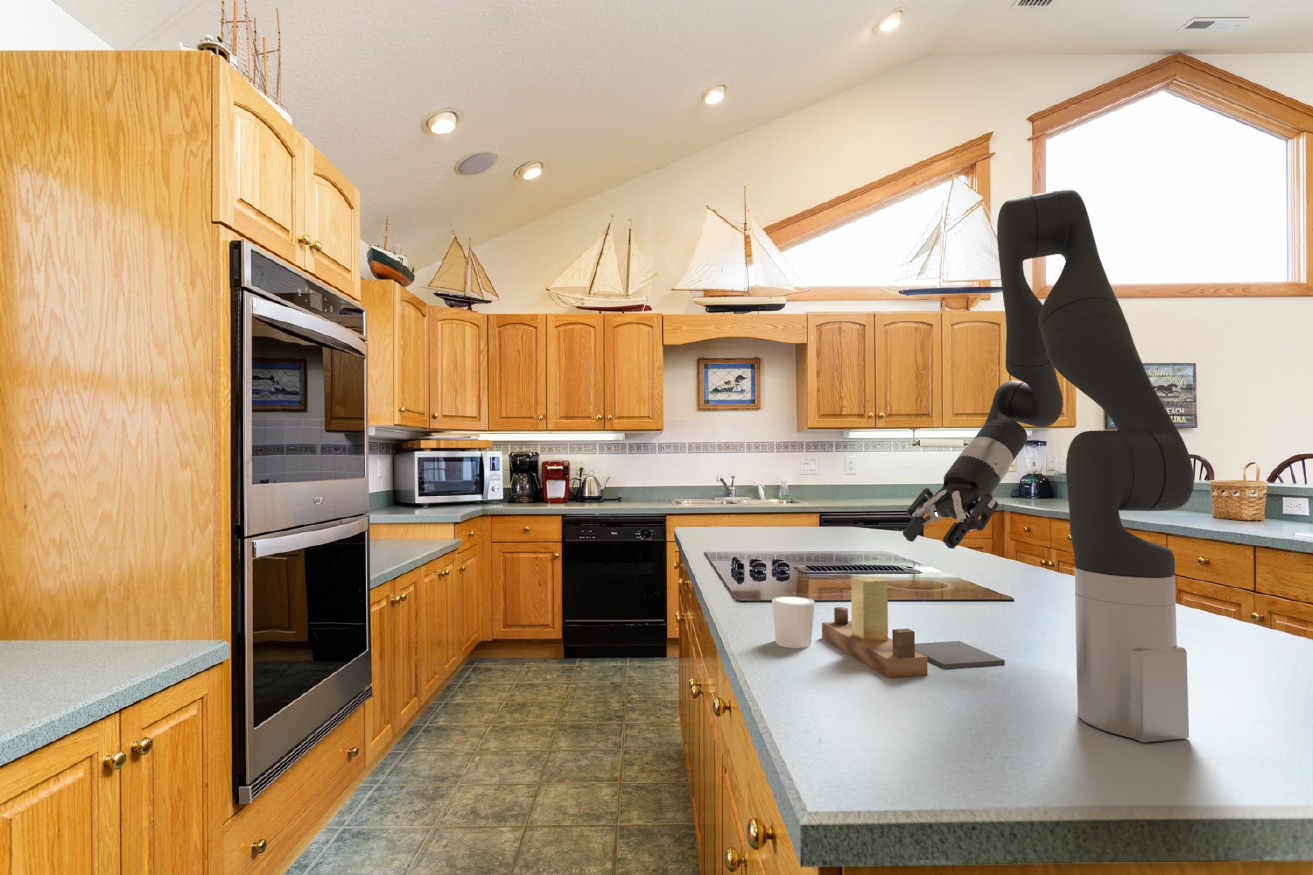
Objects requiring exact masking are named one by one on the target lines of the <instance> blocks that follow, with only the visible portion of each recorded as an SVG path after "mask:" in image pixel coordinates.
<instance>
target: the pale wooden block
mask: <svg viewBox="0 0 1313 875" xmlns="http://www.w3.org/2000/svg"><path fill="white" fill-rule="evenodd" d="M850 578H851V580H850V581H851V582H850V584H851V587H850V588H851V592H850V593H851V597H850V598H851V621H852V636H854V637H855V638H857V639H859V640H861V641H863V642H873V641H888V638H889V627H888V626H889V625H888V624H889V619H888V618H889V616H888V615H889V614H888V610H889V608H888V606H889V605H888V601H889V600H888V580H886V579H883V578H881V577H877V576H875V575H874V576H853V577H852V576H851V577H850Z"/></svg>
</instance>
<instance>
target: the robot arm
mask: <svg viewBox="0 0 1313 875" xmlns="http://www.w3.org/2000/svg"><path fill="white" fill-rule="evenodd" d="M996 228H997V229H996V232H997V233H996V238H997V239H996V240H997V241H996V242H997V251H998V261H999V262H998V263H999V271H1000V272H999V273H1000V281H1001V289H1002V290H1001V291H1002V297H1003V305H1004V306H1003V307H1004V312H1005V314H1004V315H1005V327H1006V328H1005V330H1006V332H1005V334H1006V335H1005V370H1006V372H1007V373H1008V375H1009V376H1011V377H1012V378H1015V379H1017V380H1008V381H1006V382H1004V383H1002V384H1001V385H1000V386H998V387H997V389H996V391H995V394H994V395H993V399H992V404H991V407H990V408H989V409H990V410H989V413H988V415H987V418H986V420H985V422H984V424H983V426H982V427H981V428H980V430H979V431H978V432H977V434H976V435H975V437H974V438H973V439H972V440H971V442H970V443H969V444H967V445H966V446H965V448H964V449H963V450H962V451H961V453H960V454H959V456H958V457H957V458H955V461H954V462H953V464H952V465H951V466H950V467H949V468H948V470H947V472H945V474H944V476H943V485H942V487H941V488H940V489H938V490H937V491H936V492H934V491H931V490H930V488H929V487H926V488H924V489H923V490H922V491H921V493H920V494H919V495H918V496H917V497H916V498H915V500H914V501H913V502H912V503H911V504H910V506H908V509H906V513H907V515H908V516H909V517H910V518H911V519H910V521H909V522H908V524H907V525H906V526H905V527H904V528H903V529H904V530H903V532H902V536H903V537H904V538H905V540H906V541H907V542H912V543H913V542H915V540H916V539H917V537H918V536H919V534H920V533H921V532H922V530H923V529H924V528H925V525H927V524H929V523H931V522H933V521H934V522H938V521H939V520H941V519H944V518H946V519H947V518H952V519H956V521H957V522H954V521H953V524H952V525H951V526H950V528H949V529H948V531H947V532H946V534H944V536H943V538H942V542H943V544H944V545H945V546H946V547H947V548H948V549H953V550H954V549H955V548H956V547H957V546H958V545H960V543H961V542H962V540H963V539H964V538H965V536H966V535H967V533H971V532H972V531H973V530H977V531H979V532H981V531H983V530H985V528H986V526H987V525H988V522H989V521H990V520H991V518H992V516H993V514H994V513H995V512H996V510H997V509H998V507H999V502H998V501H997V499H996V497H994V495H993V493H994V492H995V490H996V489H997V488H998V486H999V485H1000V483H1001V482H1002V480H1003V479H1004V478H1005V476H1006V475H1007V473H1008V471H1009V470H1010V467H1011V465H1012V464H1013V462H1014V461H1015V459H1016V458H1017V456H1018V455H1019V454H1020V452H1021V450H1022V449H1023V448H1024V446H1025V445H1026V443H1027V441H1028V433H1027V431H1026V428H1024V426H1022V424H1025V425H1029V426H1033V427H1037V428H1047V427H1050V426H1052V425H1054V424H1055V423H1056V422H1057V421H1058V420H1059V419H1060V416H1061V414H1062V412H1063V408H1064V406H1063V405H1064V397H1063V394H1062V390H1061V386H1060V382H1059V380H1058V376H1057V372H1058V373H1059V375H1061V376H1062V377H1063V378H1064V379H1066V381H1068V383H1070V384H1072V385H1073V386H1074V387H1075V388H1077V389H1078V390H1079V391H1080V392H1082V393H1083V394H1084V395H1086V396H1087V397H1088V398H1090V399H1091V400H1092V401H1093V402H1095V404H1097V405H1098V406H1099V407H1100V408H1101V409H1102V410H1103V411H1104V412H1105V413H1106V414H1107V415H1108V417H1109V418H1110V420H1112V422H1113V424H1114V425H1115V427H1116V429H1117V430H1116V429H1113V430H1111V429H1110V430H1109V429H1108V430H1107V429H1106V430H1104V429H1103V430H1101V429H1100V430H1099V429H1098V430H1088V431H1087V430H1086V431H1085V430H1084V431H1082V432H1079V433H1078V434H1076V436H1074V438H1073V439H1072V441H1071V442H1070V444H1069V447H1068V448H1067V449H1068V450H1067V454H1066V462H1065V475H1066V478H1065V480H1066V488H1067V500H1068V512H1069V525H1070V526H1069V530H1070V539H1071V544H1072V549H1073V555H1074V556H1073V558H1074V559H1073V560H1074V597H1075V598H1074V602H1075V603H1074V605H1075V606H1074V607H1075V608H1074V609H1075V610H1074V611H1075V655H1076V656H1075V657H1076V687H1077V688H1076V689H1077V690H1076V695H1077V698H1076V699H1077V701H1076V702H1077V715H1078V718H1080V719H1081V720H1082V721H1084V722H1085V723H1087V724H1088V725H1091V726H1092V727H1094V728H1096V729H1099V730H1102V731H1104V732H1107V733H1111V734H1115V735H1119V736H1123V737H1126V738H1131V739H1133V740H1136V741H1138V742H1140V743H1152V742H1162V741H1163V742H1164V741H1171V740H1173V741H1174V740H1181V739H1189V738H1190V728H1189V727H1190V723H1189V721H1190V720H1189V718H1190V717H1189V688H1188V687H1189V686H1188V683H1189V682H1188V656H1187V655H1188V654H1187V653H1188V652H1187V649H1186V648H1184V647H1183V646H1179V645H1178V643H1177V642H1178V641H1177V639H1178V637H1177V609H1176V608H1177V606H1176V604H1177V603H1176V601H1177V597H1176V594H1177V593H1176V562H1175V561H1176V560H1175V555H1174V553H1173V552H1172V550H1171V549H1170V548H1168V547H1167V546H1164V545H1162V544H1159V543H1156V542H1152V541H1150V540H1146V539H1144V538H1141V537H1139V536H1137V535H1135V534H1133V533H1132V532H1130V531H1128V530H1127V529H1126V528H1125V527H1124V526H1123V523H1122V521H1121V516H1120V511H1121V512H1122V511H1125V512H1126V511H1127V512H1130V511H1132V512H1136V511H1137V512H1163V511H1174V510H1177V509H1181V508H1182V507H1183V506H1185V504H1187V503H1188V501H1189V500H1190V499H1191V496H1192V494H1193V491H1194V487H1195V477H1194V476H1195V474H1194V468H1193V463H1192V459H1191V456H1190V453H1189V451H1188V448H1187V446H1186V443H1185V441H1184V440H1183V437H1182V436H1181V432H1179V429H1178V428H1177V426H1176V425H1175V423H1174V421H1173V419H1172V417H1171V415H1170V414H1169V412H1168V410H1167V409H1166V407H1165V405H1164V403H1163V402H1162V400H1161V398H1160V396H1159V395H1158V393H1157V391H1156V390H1155V388H1154V386H1153V383H1152V381H1151V380H1150V378H1149V376H1148V373H1147V371H1146V369H1145V366H1144V364H1143V361H1142V359H1141V357H1140V355H1139V351H1138V350H1137V347H1136V344H1135V342H1134V339H1133V335H1132V333H1131V330H1130V328H1129V324H1128V321H1127V319H1126V316H1125V314H1124V312H1123V309H1122V307H1121V305H1120V303H1119V300H1118V298H1117V297H1116V294H1115V292H1114V290H1113V287H1112V285H1111V284H1110V281H1109V279H1108V275H1107V273H1106V270H1105V268H1104V266H1103V263H1102V260H1101V256H1100V254H1099V251H1098V247H1097V243H1096V239H1095V235H1094V231H1093V228H1092V224H1091V220H1090V217H1089V214H1088V210H1087V207H1086V204H1085V202H1084V200H1083V197H1082V196H1081V194H1079V193H1078V191H1076V190H1074V189H1072V188H1065V189H1064V188H1062V189H1055V190H1051V191H1045V192H1041V193H1035V194H1030V195H1025V196H1024V195H1023V196H1019V197H1015V198H1010V199H1008V200H1007V201H1005V202H1004V203H1003V204H1002V206H1001V207H1000V209H999V212H998V217H997V224H996ZM1054 255H1055V256H1056V255H1061V256H1062V257H1063V258H1064V260H1065V263H1064V265H1063V267H1062V271H1060V272H1061V273H1060V275H1059V277H1058V279H1056V281H1055V283H1054V285H1053V286H1052V288H1051V289H1050V292H1049V293H1048V294H1047V296H1046V298H1045V300H1044V302H1043V303H1042V302H1041V300H1040V299H1039V298H1038V297H1037V295H1036V294H1035V293H1034V291H1033V290H1032V289H1031V287H1030V285H1029V283H1028V282H1027V279H1026V276H1025V271H1024V261H1026V260H1031V259H1036V258H1044V257H1048V256H1054ZM1056 371H1057V372H1056ZM933 506H934V508H935V509H934V510H936V512H934V510H933V509H932V507H933ZM926 513H927V514H928V515H927V516H925V515H926ZM924 516H925V517H924ZM979 517H980V519H979Z"/></svg>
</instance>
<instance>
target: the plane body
mask: <svg viewBox="0 0 1313 875" xmlns="http://www.w3.org/2000/svg"><path fill="white" fill-rule="evenodd" d="M833 609H834V611H833V618H834V619H833V620H834V621H827V622H825V621H824V622H821V638H822V639H824V640H826V641H827V642H828V643H830V644H832V645H833V646H835V647H837V648H838V649H840V650H842V651H843V652H845V653H846V654H848V655H850V656H851V657H852V658H853V657H854V658H855V659H857V660H858V661H860V662H861V663H863V664H865V665H867V666H868V667H869V668H871V669H873V670H875V671H876V672H878V673H879V674H881V675H883V676H885V677H886V678H888V679H891V678H904V677H906V678H907V677H919V676H928V667H929V666H928V660H927V656H925V655H923V654H921V653H919V652H917V651H915V644H916V642H915V640H916V639H915V638H916V636H915V634H916V633H915V631H914V630H912V629H910V628H896V629H895V628H894V629H893V628H892V630H891V631H892V634H891V635H892V638H890V637H888V641H873V642H863V641H861V640H859V639H857V638H855V637H854V636H852V620H849V609H848V608H847V607H841V606H836V607H834V608H833Z"/></svg>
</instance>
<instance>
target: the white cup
mask: <svg viewBox="0 0 1313 875" xmlns="http://www.w3.org/2000/svg"><path fill="white" fill-rule="evenodd" d="M771 603H772V614H773V615H772V616H773V624H774V627H773V628H774V635H775V636H774V637H775V644H777V645H778V646H780V647H782V648H790V649H805V648H809V647H810V646H811V645H812V638H813V637H812V634H813V625H814V624H813V623H814V613H815V600H814V599H812V598H808V597H804V596H798V595H796V596H795V595H787V596H786V595H785V596H783V595H782V596H776V597H772V600H771Z"/></svg>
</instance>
